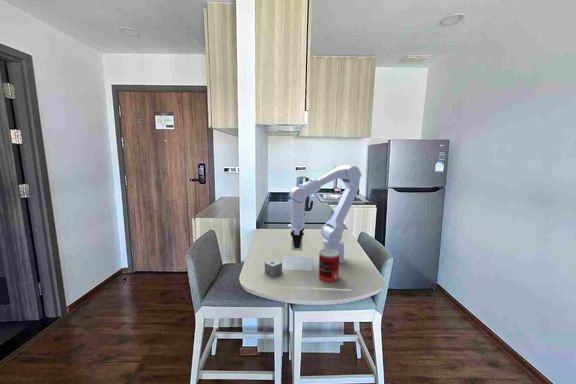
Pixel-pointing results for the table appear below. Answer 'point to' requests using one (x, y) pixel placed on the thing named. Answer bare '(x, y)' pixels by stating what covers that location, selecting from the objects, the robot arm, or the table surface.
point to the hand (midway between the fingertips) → (297, 245)
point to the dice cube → (273, 267)
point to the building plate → (297, 263)
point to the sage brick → (296, 248)
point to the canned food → (328, 265)
